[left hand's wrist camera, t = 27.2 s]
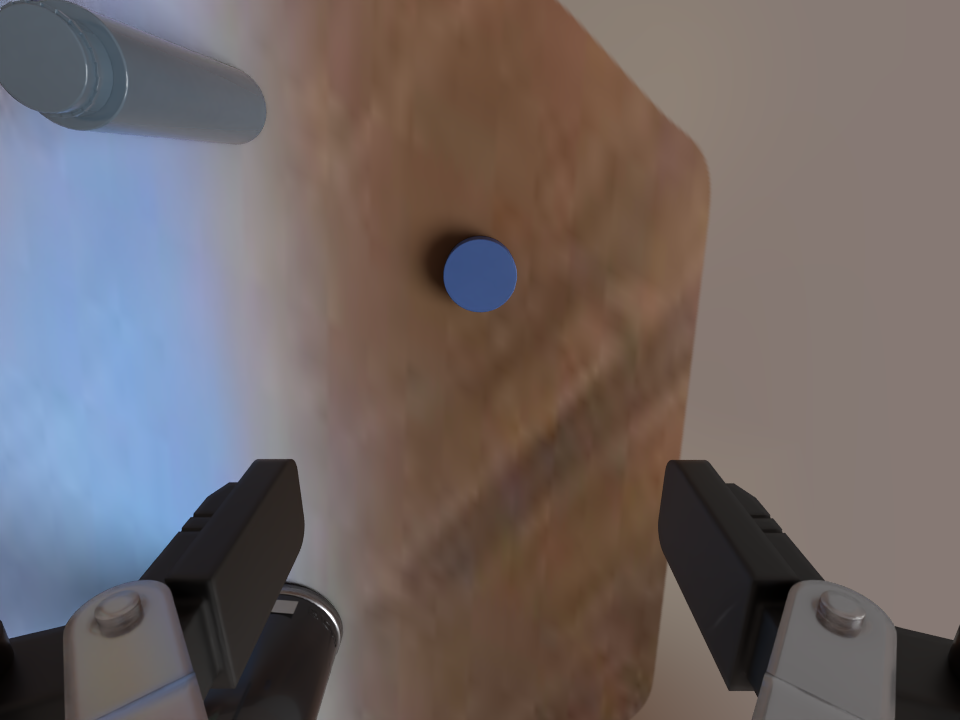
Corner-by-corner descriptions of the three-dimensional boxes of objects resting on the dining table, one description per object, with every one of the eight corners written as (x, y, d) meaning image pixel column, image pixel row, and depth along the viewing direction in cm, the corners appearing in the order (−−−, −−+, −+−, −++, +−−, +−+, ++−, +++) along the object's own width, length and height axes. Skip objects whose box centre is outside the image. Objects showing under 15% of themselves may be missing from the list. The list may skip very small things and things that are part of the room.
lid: (430, 266, 36) (428, 270, 34) (485, 220, 35) (485, 223, 33) (474, 319, 37) (474, 326, 35) (529, 277, 36) (531, 282, 34)
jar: (279, 127, 33) (126, 98, 19) (219, 155, 33) (25, 147, 19) (243, 54, 31) (48, -39, 17) (181, 84, 32) (-57, 19, 18)
